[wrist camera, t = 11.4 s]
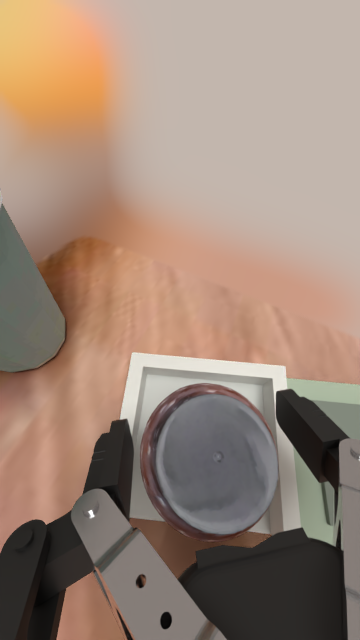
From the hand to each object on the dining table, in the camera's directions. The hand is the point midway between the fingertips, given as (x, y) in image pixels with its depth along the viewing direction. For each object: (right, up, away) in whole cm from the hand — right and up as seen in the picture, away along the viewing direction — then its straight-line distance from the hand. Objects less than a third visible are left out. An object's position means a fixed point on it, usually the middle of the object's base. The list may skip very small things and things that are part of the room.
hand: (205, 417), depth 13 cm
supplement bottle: (0, -4, +5) cm, 7 cm away
